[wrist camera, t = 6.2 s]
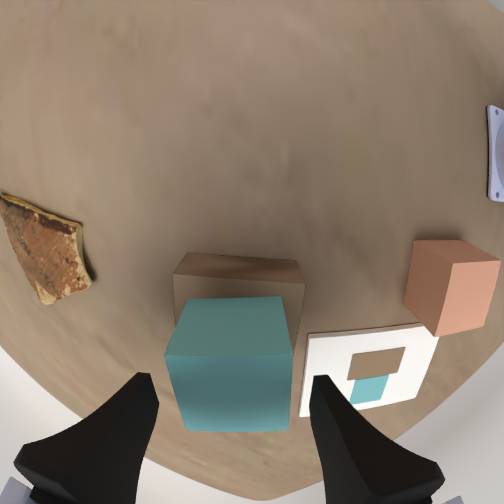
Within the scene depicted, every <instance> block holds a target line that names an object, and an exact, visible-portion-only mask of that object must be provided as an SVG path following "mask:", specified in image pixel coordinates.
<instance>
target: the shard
mask: <svg viewBox="0 0 504 504" xmlns="http://www.w3.org/2000/svg"><path fill="white" fill-rule="evenodd" d="M0 214H1V216H2V218H3V220H4V224H5V227H6V229H7V233H8V236H9V239H10V242H11V244H12V247H13V249H14V251H15V253H16V255H17V259H18V261H19V263H20V265H21V267H22V269H23V270H24V273H25V275H26V277H27V279H28V281H29V282H30V284H31V286H32V287H33V288H34V290H35V292H36V294H37V295H38V297H39V299H40V300H41V301H42V302H43V303H44V304H46V305H49V304H51V303H55V302H57V301H59V300H61V299H63V298H65V297H66V296H68V295H71V294H72V293H74V292H77V291H82V290H85V289H87V288H89V287H90V286H91V285H92V284H93V281H92V280H91V279H90V277H89V275H88V274H87V271H86V268H85V264H84V259H83V251H82V232H83V228H82V225H81V224H79V223H76V222H71V221H67V220H64V219H61V218H58V217H56V216H55V215H53V214H48V213H45V212H43V211H41V210H40V209H39V208H36V207H34V206H33V205H30V204H29V203H27V202H24V201H23V200H21V199H19V198H16V197H11V196H8V195H7V196H2V195H0Z"/></svg>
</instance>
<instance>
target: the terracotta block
mask: <svg viewBox="0 0 504 504" xmlns="http://www.w3.org/2000/svg"><path fill="white" fill-rule="evenodd" d="M500 264H501V260H500V259H498V258H496V257H494V256H492V255H490V254H488V253H486V252H484V251H482V250H481V249H479V248H477V247H475V246H473V245H470V244H468V243H466V242H464V241H462V240H414V241H413V249H412V256H411V263H410V269H409V275H408V281H407V286H406V291H405V296H404V301H403V304H404V305H405V306H406V307H407V308H408V309H409V310H410V311H411V312H412V313H413V314H414V316H415V317H416V318H417V319H418V320H419V321H420V322H421V323H422V324H423V325H424V326H425V328H426V329H427V330H428V331H429V332H430V333H431V334H432V335H433V337H438V336H443V335H448V334H453V333H457V332H461V331H466V330H470V329H474V328H478V327H482V326H483V325H484V322H485V319H486V316H487V313H488V309H489V306H490V303H491V300H492V296H493V293H494V289H495V285H496V281H497V277H498V273H499V269H500Z"/></svg>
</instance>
